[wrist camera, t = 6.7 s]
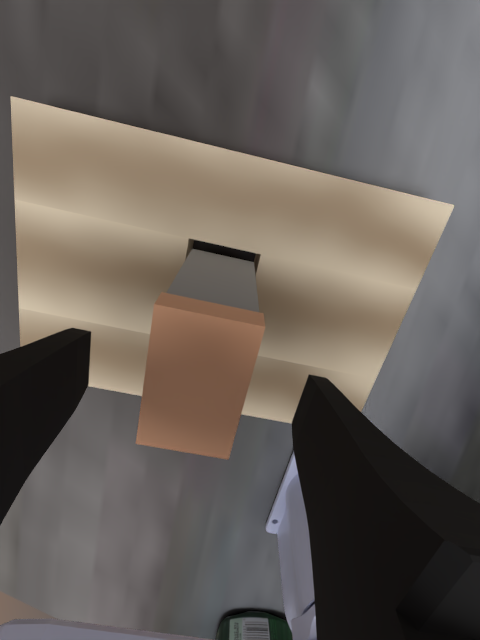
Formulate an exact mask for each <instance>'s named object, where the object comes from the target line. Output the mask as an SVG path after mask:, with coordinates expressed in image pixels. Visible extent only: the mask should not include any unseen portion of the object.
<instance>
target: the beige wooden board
mask: <svg viewBox="0 0 480 640" xmlns="http://www.w3.org/2000/svg"><path fill="white" fill-rule="evenodd" d="M11 118H12V143H13V169H14V194H15V219H16V245H17V270H18V295H19V321H20V346H21V347H22V346H24V345H27V344H29V343H32V342H34V341H37V340H40V339H42V338H45V337H47V336H50V335H52V334H55V333H58V332H60V331H63V330H66V329H69V328H76V329H81V330H86V331H91V348H90V366H89V384H88V386H90V387H96V388H101V389H107V390H112V391H117V392H123V393H128V394H134V395H139V396H142V392H143V385H144V377H145V369H146V362H147V354H148V346H149V339H150V331H151V324H152V316H153V308H154V303H155V302H156V300H157V299H158V297H159V295H160V294H161V292H164V293H166V292H167V291H168V289H169V287H170V285H171V284H172V282H173V280H174V279H175V277H176V275H177V274H178V272H179V270H180V268H181V267H182V265H183V263H184V262H185V260H186V258H187V257H188V255H189V253H190V252H191V250H192V249H193V245H194V240H199V241H203V242H208V243H212V244H217V245H221V246H226V247H230V248H235V249H239V250H243V251H248V252H252V253H256V255H255V259H254V267H255V276H256V285H257V295H258V304H259V312H260V313H264V320H265V330H264V334H263V338H262V341H261V345H260V348H259V352H258V355H257V359H256V363H255V366H254V370H253V373H252V377H251V381H250V384H249V388H248V391H247V395H246V398H245V402H244V406H243V409H242V413H241V414H242V415H248V416H253V417H259V418H264V419H270V420H275V421H280V422H286V423H291V424H292V420H293V417H294V414H295V412H296V409H297V406H298V403H299V400H300V398H301V395H302V392H303V389H304V386H305V384H306V381H307V378H308V375H309V374H310V375H315V376H320V377H325V378H327V379H328V380H330V381H331V382H332V383H333V384H334V385H335V386H336V387H337V388H338V389H339V390H340V391H341V392H342V393H343V394H344V395H345V396H346V397H347V398H348V400H349V401H350V402H351V403H352V404H353V405H354V406H355V407H356V408H357V409H358V410H359V411H360V412H361V411H362V409H363V407H364V404H365V402H366V400H367V398H368V396H369V393H370V391H371V389H372V387H373V384H374V382H375V380H376V378H377V376H378V373H379V371H380V369H381V367H382V365H383V362H384V360H385V358H386V356H387V354H388V351H389V349H390V347H391V345H392V343H393V340H394V338H395V336H396V334H397V331H398V329H399V327H400V325H401V323H402V320H403V318H404V316H405V314H406V312H407V309H408V307H409V305H410V303H411V301H412V298H413V296H414V294H415V292H416V290H417V287H418V285H419V283H420V281H421V279H422V276H423V274H424V272H425V270H426V267H427V265H428V263H429V261H430V259H431V256H432V254H433V252H434V250H435V248H436V245H437V243H438V241H439V239H440V237H441V234H442V232H443V230H444V228H445V226H446V223H447V221H448V219H449V217H450V215H451V212H452V210H453V208H454V206H455V205H451V204H447V203H443V202H439V201H435V200H431V199H427V198H423V197H419V196H415V195H411V194H407V193H403V192H398V191H394V190H390V189H386V188H382V187H378V186H374V185H370V184H366V183H362V182H358V181H354V180H350V179H346V178H342V177H337V176H333V175H329V174H325V173H321V172H317V171H313V170H309V169H305V168H301V167H297V166H293V165H289V164H285V163H281V162H276V161H272V160H268V159H264V158H260V157H256V156H252V155H248V154H244V153H240V152H236V151H232V150H228V149H224V148H220V147H215V146H211V145H207V144H203V143H199V142H195V141H191V140H187V139H183V138H179V137H175V136H171V135H167V134H163V133H159V132H155V131H150V130H146V129H142V128H138V127H134V126H130V125H126V124H122V123H118V122H114V121H110V120H106V119H102V118H98V117H94V116H89V115H85V114H81V113H77V112H73V111H69V110H65V109H61V108H57V107H53V106H49V105H45V104H41V103H37V102H33V101H28V100H24V99H20V98H16V97H12V96H11Z"/></svg>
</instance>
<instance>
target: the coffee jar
mask: <svg viewBox="0 0 480 640" xmlns="http://www.w3.org/2000/svg"><path fill="white" fill-rule="evenodd" d="M215 640H292V631H291V629H290V627H289V625H288V623H287V621H285V620H283V619H281V618H278V617H276V616H273V615H271V614H269V613H265V612H257V611H247V612H245V613H241V614H237V615H233V616H228V617H226V618H225V619H224V620H223V621H222V622H221V624H220V626H219V629H218V631H217V635H216V639H215Z"/></svg>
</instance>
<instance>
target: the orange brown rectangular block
mask: <svg viewBox="0 0 480 640" xmlns="http://www.w3.org/2000/svg"><path fill="white" fill-rule="evenodd" d="M264 330H265V320H264V313H260V312H259V304H258V295H257V285H256V276H255V267H254V262H251V261H246V260H241V259H237V258H232V257H228V256H223V255H219V254H214V253H210V252H205V251H201V250H196V249H192V250H191V252H190V253H189V255H188V257H187V258H186V260H185V262H184V263H183V265H182V267H181V268H180V270H179V272H178V274H177V275H176V277H175V279H174V280H173V282H172V284H171V285H170V287H169V289H168V291H167V292H166V293H164V292H161V294H160V295H159V297H158V299H157V300H156V302H155V303H154V308H153V316H152V324H151V331H150V339H149V346H148V354H147V362H146V369H145V377H144V385H143V392H142V400H141V408H140V415H139V423H138V431H137V438H136V444H140V445H146V446H152V447H158V448H164V449H169V450H175V451H181V452H187V453H193V454H198V455H204V456H210V457H216V458H222V459H227V460H228V459H229V456H230V452H231V449H232V445H233V441H234V438H235V434H236V431H237V427H238V424H239V420H240V416H241V413H242V409H243V406H244V402H245V398H246V395H247V391H248V388H249V384H250V381H251V377H252V373H253V370H254V366H255V363H256V359H257V355H258V352H259V348H260V345H261V341H262V338H263V334H264Z"/></svg>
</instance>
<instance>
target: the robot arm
mask: <svg viewBox="0 0 480 640" xmlns="http://www.w3.org/2000/svg"><path fill="white" fill-rule="evenodd" d="M90 348H91V331H86V330H81V329H76V328H69V329H66V330H63V331H60V332H58V333H55V334H52V335H50V336H47V337H45V338H42V339H40V340H37V341H34V342H32V343H29V344H27V345H24V346H22V347H19V348H16V349H14V350H11V351H8V352H5V353H2V354H0V525H1V523H2V521H3V519H4V517H5V516H6V514H7V512H8V510H9V509H10V507H11V505H12V503H13V502H14V500H15V498H16V496H17V495H18V493H19V491H20V489H21V488H22V486H23V484H24V483H25V481H26V479H27V478H28V476H29V475H30V473H31V472H32V470H33V469H34V467H35V466H36V465H37V463H38V462H39V460H40V459H41V458H42V456H43V455H44V453H45V452H46V451H47V449H48V448H49V446H50V445H51V444H52V442H53V441H54V439H55V438H56V437H57V435H58V434H59V432H60V431H61V430H62V428H63V427H64V425H65V424H66V423H67V421H68V420H69V418H70V417H71V415H72V414H73V412H74V411H75V409H76V408H77V406H78V404H79V402H80V400H81V398H82V396H83V394H84V392H85V390H86V388H87V386H88V384H89V366H90ZM292 437H293V450H294V451H293V454H292V456H291V459H290V462H289V464H288V467H287V470H286V472H285V475H284V478H283V480H282V483H281V486H280V488H279V491H278V494H277V496H276V499H275V502H274V504H273V507H272V510H271V512H270V515H269V517H268V520H267V523H266V531H267V532H269V533H273V534H277V537H278V548H279V559H280V570H281V581H282V592H283V603H284V610H285V615H286V619H287V622H288V625H289V627H290V629H291V631H292V636H293V640H480V503H478V502H476V501H474V500H473V499H471V498H470V497H468V496H466V495H465V494H463V493H462V492H460V491H458V490H457V489H455V488H454V487H452V486H451V485H449V484H448V483H446V482H445V481H444V480H442V479H441V478H439V477H438V476H436V475H435V474H433V473H432V472H430V471H429V470H428V469H426V468H425V467H424V466H422V465H421V464H420V463H418V462H417V461H416V460H414V459H413V458H412V457H411V456H409V455H408V454H407V453H406V452H404V451H403V450H402V449H400V448H399V447H398V446H397V445H396V444H395V443H393V442H392V441H391V440H390V439H389V438H388V437H387V436H385V435H384V434H383V433H382V432H381V431H380V430H379V429H378V428H377V427H376V426H375V425H373V424H372V423H371V422H370V421H369V420H368V419H367V418H366V417H365V416H364V415H363V414H362V413H361V412H360V411H359V410H358V409H357V408H356V407H355V406H354V405H353V404H352V403H351V402H350V401H349V400H348V398H347V397H346V396H345V395H344V394H343V393H342V392H341V391H340V390H339V389H338V388H337V387H336V386H335V385H334V384H333V383H332V382H331V381H330V380H328V379H327V378H325V377H320V376H315V375H310V374H309V375H308V378H307V381H306V384H305V386H304V389H303V392H302V395H301V398H300V400H299V403H298V406H297V409H296V412H295V414H294V417H293V420H292ZM0 640H212V639H205V638H197V637H189V636H182V635H174V634H166V633H159V632H151V631H143V630H136V629H128V628H120V627H113V626H105V625H97V624H90V623H82V622H74V621H67V620H59V619H14V620H12V621H9V622H7V623H4V624H2V625H0Z"/></svg>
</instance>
